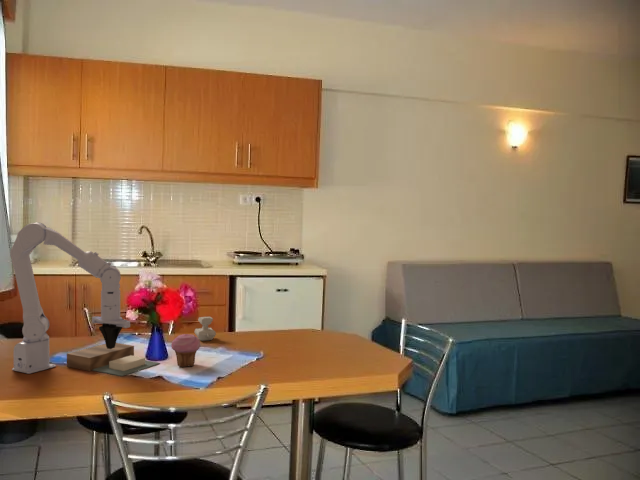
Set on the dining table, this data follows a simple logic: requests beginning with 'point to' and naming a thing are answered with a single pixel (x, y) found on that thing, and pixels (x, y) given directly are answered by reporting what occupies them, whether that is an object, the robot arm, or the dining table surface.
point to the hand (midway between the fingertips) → (110, 348)
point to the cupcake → (185, 349)
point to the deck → (98, 356)
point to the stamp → (205, 329)
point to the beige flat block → (127, 363)
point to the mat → (121, 373)
